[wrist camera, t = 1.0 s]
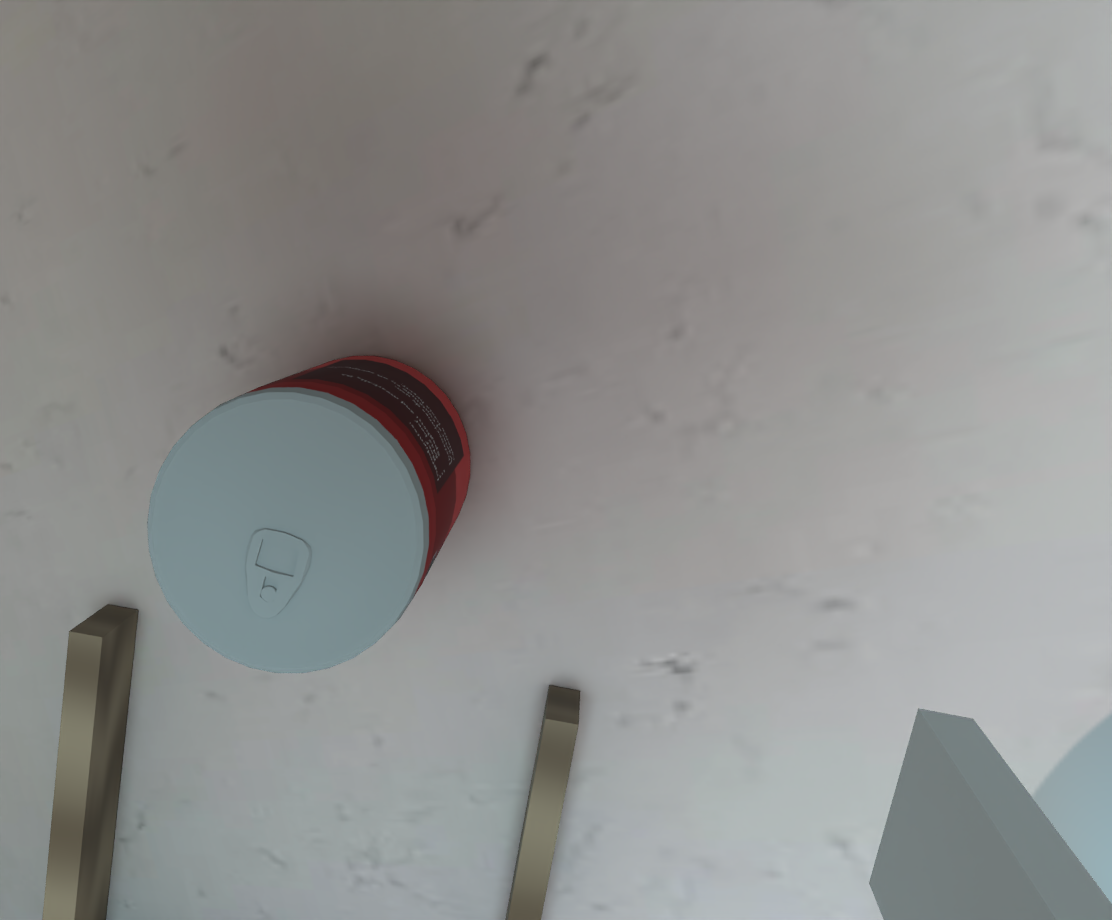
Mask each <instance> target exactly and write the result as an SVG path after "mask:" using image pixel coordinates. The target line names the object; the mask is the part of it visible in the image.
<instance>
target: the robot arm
mask: <svg viewBox="0 0 1112 920" xmlns="http://www.w3.org/2000/svg"><path fill="white" fill-rule="evenodd" d="M869 884H870V886H871V889H872V891H873V894H874V896H875V899H876V901H877V904H878V906H879V909H880V911H881V914H882V916H883V919H884V920H1112V904H1111V902H1110V901H1109V900H1108V898H1107V897H1106V896H1105V894H1104V893H1103V892H1102V890H1101V889H1100V888H1099V886H1098V885H1097V884H1096V882H1095V881H1094V880H1093V878H1092V877H1091V876H1090V874H1089V873H1088V872H1087V870H1086V869H1085V868H1084V866H1083V865H1082V864H1081V862H1080V861H1079V860H1078V858H1077V857H1076V856H1075V854H1074V853H1073V852H1072V850H1071V849H1070V848H1069V846H1068V845H1067V844H1066V842H1065V841H1064V840H1063V838H1062V837H1061V836H1060V834H1059V833H1058V832H1057V831H1056V829H1055V828H1054V826H1053V825H1052V824H1051V822H1050V821H1049V820H1048V818H1047V817H1046V816H1045V814H1044V813H1043V812H1042V810H1041V809H1040V808H1039V806H1038V805H1037V804H1036V802H1035V801H1034V800H1033V798H1032V797H1031V796H1030V794H1029V793H1028V792H1027V790H1026V789H1025V787H1024V786H1023V785H1022V783H1021V782H1020V781H1019V779H1018V778H1017V777H1016V775H1015V774H1014V773H1013V771H1012V770H1011V769H1010V767H1009V766H1008V765H1007V763H1006V762H1005V761H1004V759H1003V758H1002V757H1001V755H1000V754H999V753H998V751H997V750H996V749H995V747H994V746H993V745H992V743H991V742H990V741H989V739H988V738H987V737H986V735H985V734H984V733H983V731H982V730H981V729H980V727H979V726H978V725H977V723H976V722H975V721H974V719H971V718H966V717H961V716H956V715H950V714H945V713H940V712H935V711H929V710H924V709H919V708H918V711H917V715H916V719H915V722H914V726H913V729H912V733H911V736H910V740H909V743H908V747H907V750H906V754H905V758H904V761H903V765H902V768H901V772H900V775H899V779H898V782H897V786H896V789H895V793H894V797H893V800H892V804H891V807H890V811H889V814H888V818H887V821H886V825H885V828H884V832H883V836H882V839H881V843H880V846H879V850H878V853H877V857H876V860H875V864H874V867H873V871H872V875H871V878H870V882H869Z"/></svg>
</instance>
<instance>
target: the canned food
mask: <svg viewBox="0 0 1112 920" xmlns="http://www.w3.org/2000/svg"><path fill="white" fill-rule="evenodd" d="M469 479H470V451H469V446H468V441H467V436H466V432H465V429H464V427H463V424H462V422H461V420H460V417H459V415H458V413H457V411H456V410H455V408H454V406H453V405H452V403H451V402H450V400H449V399H448V397H447V396H446V395H445V394H444V393H443V392H442V391H441V389H440V388H439V387H438V386H437V385H436V384H435V383H434V382H433V381H432V380H430V379H429V378H427V377H426V376H425V375H423V374H422V373H420V372H419V371H417V370H416V369H414V368H412V367H410V366H408V365H405V364H403V363H400V362H398V361H396V360H392V359H387V358H382V357H377V356H351V357H346V358H342V359H337V360H333V361H330V362H327V363H324V364H322V365H319V366H316V367H313V368H311V369H308V370H305V371H302V372H300V373H297V374H294V375H291V376H289V377H286V378H283V379H280V380H278V381H275V382H272V383H269V384H267V385H264V386H261V387H258V388H256V389H254V390H252V391H249V392H247V393H245V394H243V395H240V396H238V397H236V398H234V399H232V400H229V401H227V402H225V403H223V404H220V405H219V406H218V407H216V408H215V409H214V410H212V411H211V412H209V413H208V414H207V415H205V416H204V417H203V418H201V419H200V420H198V421H197V422H196V423H195V424H194V425H192V426H191V427H190V428H189V430H188V431H187V432H186V433H185V434H184V435H183V436H182V437H181V438H180V440H179V441H178V442H177V443H176V444H175V445H174V446H173V448H172V450H171V451H170V453H169V455H168V457H167V458H166V460H165V462H164V463H163V465H162V467H161V469H160V471H159V474H158V477H157V479H156V482H155V485H154V488H153V491H152V494H151V499H150V507H149V514H148V522H147V524H148V541H149V552H150V556H151V560H152V564H153V568H154V572H155V576H156V578H157V580H158V583H159V585H160V587H161V589H162V591H163V593H164V595H165V598H166V600H167V602H168V603H169V605H170V606H171V607H172V609H173V610H174V612H175V613H176V614H177V616H178V617H179V619H180V620H181V621H182V623H183V624H184V625H185V626H186V627H187V628H188V629H189V630H190V631H191V632H192V633H193V634H194V635H195V636H196V637H197V638H199V639H200V640H201V641H202V642H203V643H204V644H206V645H207V646H209V647H210V648H212V649H213V650H215V651H216V652H218V653H219V654H221V655H222V656H224V657H226V658H228V659H230V660H233V661H235V662H238V663H240V664H243V665H245V666H247V667H250V668H254V669H259V670H264V671H269V672H274V673H306V672H311V671H316V670H321V669H327V668H330V667H333V666H335V665H337V664H340V663H342V662H345V661H347V660H350V659H352V658H354V657H355V656H357V655H358V654H360V653H361V652H363V651H364V650H366V649H367V648H369V647H370V646H372V645H373V644H375V643H376V642H377V641H378V640H379V639H380V638H381V637H382V636H383V635H384V634H385V633H386V632H387V631H388V630H389V629H390V628H391V627H392V626H393V625H394V624H395V623H396V622H397V621H398V620H399V619H400V617H401V616H402V614H403V613H404V611H405V610H406V608H407V607H408V605H409V603H410V602H411V600H412V599H413V597H414V596H415V594H416V592H417V591H418V589H419V588H420V586H421V585H422V583H423V581H424V579H425V577H426V575H427V573H428V571H429V570H430V568H431V566H432V564H433V562H434V560H435V558H436V556H437V555H438V553H439V551H440V549H441V547H442V545H443V543H444V541H445V539H446V538H447V536H448V534H449V532H450V530H451V528H452V526H453V524H454V523H455V521H456V519H457V517H458V515H459V513H460V510H461V508H462V505H463V503H464V500H465V498H466V494H467V489H468V484H469Z"/></svg>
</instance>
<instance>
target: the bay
mask: <svg viewBox="0 0 1112 920" xmlns="http://www.w3.org/2000/svg"><path fill="white" fill-rule="evenodd" d="M137 618H138V610H136V609H130V608H125V607H119V606H114V605H108V604H107V605H106V606H105V607H103V608H102V609H100V610H99V611H97V612H96V613H95V614H93V615H92V616H90V617H89V618H87V619H86V620H85V621H83V622H82V623H80V624H79V625H78V626H76V627H75V628H73V629H72V630H70V631H69V639H68V650H67V661H66V672H65V682H64V693H63V704H62V715H61V725H60V736H59V747H58V758H57V768H56V779H55V790H54V801H53V812H52V822H51V833H50V844H49V855H48V865H47V876H46V887H45V898H44V908H43V919H42V920H106V911H107V901H108V892H109V883H110V873H111V864H112V854H113V845H114V835H115V826H116V816H117V807H118V797H119V788H120V778H121V769H122V760H123V750H124V741H125V731H126V722H127V712H128V703H129V693H130V684H131V674H132V665H133V655H134V646H135V636H136V627H137ZM579 705H580V691H578V690H572V689H567V688H561V687H556V686H550V685H549V689H548V695H547V700H546V705H545V711H544V716H543V721H542V727H541V732H540V738H539V743H538V748H537V754H536V759H535V764H534V770H533V775H532V780H531V786H530V791H529V796H528V802H527V807H526V813H525V818H524V823H523V829H522V834H521V839H520V845H519V850H518V855H517V861H516V866H515V871H514V877H513V882H512V888H511V893H510V898H509V904H508V909H507V914H506V920H541V916H542V911H543V906H544V900H545V895H546V890H547V885H548V880H549V875H550V870H551V864H552V859H553V854H554V849H555V844H556V839H557V833H558V828H559V823H560V818H561V813H562V808H563V802H564V797H565V792H566V787H567V782H568V777H569V771H570V766H571V761H572V756H573V751H574V746H575V740H576V735H577V730H578V725H579Z"/></svg>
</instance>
